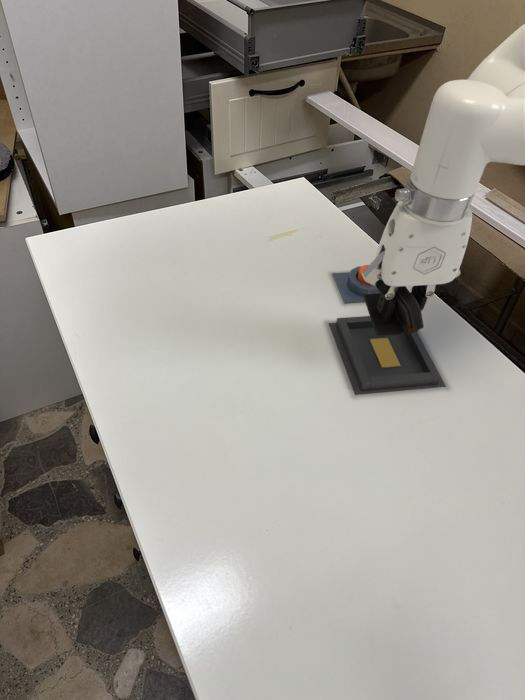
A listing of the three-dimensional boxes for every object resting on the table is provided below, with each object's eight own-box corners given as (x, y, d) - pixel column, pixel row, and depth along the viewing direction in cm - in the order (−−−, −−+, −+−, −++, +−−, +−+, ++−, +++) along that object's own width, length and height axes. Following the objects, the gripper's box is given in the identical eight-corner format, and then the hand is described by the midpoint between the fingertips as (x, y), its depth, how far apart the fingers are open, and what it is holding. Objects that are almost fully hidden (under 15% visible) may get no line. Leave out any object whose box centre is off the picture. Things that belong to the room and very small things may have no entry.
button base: (383, 275, 96) (387, 262, 94) (398, 304, 91) (403, 290, 88) (331, 278, 94) (334, 264, 92) (343, 307, 89) (346, 294, 87)
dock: (408, 321, 88) (412, 310, 86) (444, 390, 77) (449, 379, 76) (327, 327, 85) (329, 316, 83) (353, 399, 75) (357, 388, 73)
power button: (374, 272, 92) (376, 264, 91) (380, 285, 90) (383, 277, 88) (354, 273, 92) (356, 265, 90) (360, 286, 89) (362, 278, 88)
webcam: (420, 338, 72) (433, 307, 68) (377, 338, 71) (387, 307, 67) (402, 296, 79) (413, 265, 74) (362, 295, 78) (371, 264, 74)
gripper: (381, 217, 58) (349, 336, 71) (517, 213, 60) (462, 328, 74) (361, 183, 63) (335, 300, 76) (487, 180, 66) (441, 293, 79)
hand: (398, 312), depth 75 cm, fingers closed on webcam, 3 cm apart
